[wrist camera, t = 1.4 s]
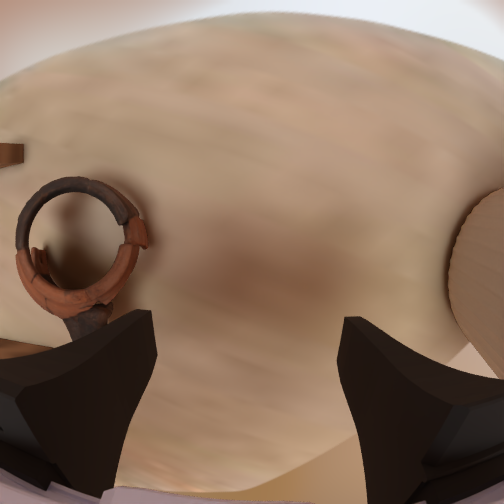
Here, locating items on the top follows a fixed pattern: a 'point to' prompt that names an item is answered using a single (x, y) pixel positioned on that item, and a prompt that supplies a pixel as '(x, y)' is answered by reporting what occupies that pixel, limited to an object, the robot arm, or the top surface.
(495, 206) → the canister
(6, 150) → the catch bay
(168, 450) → the top surface
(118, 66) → the top surface
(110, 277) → the brown ring with stem
